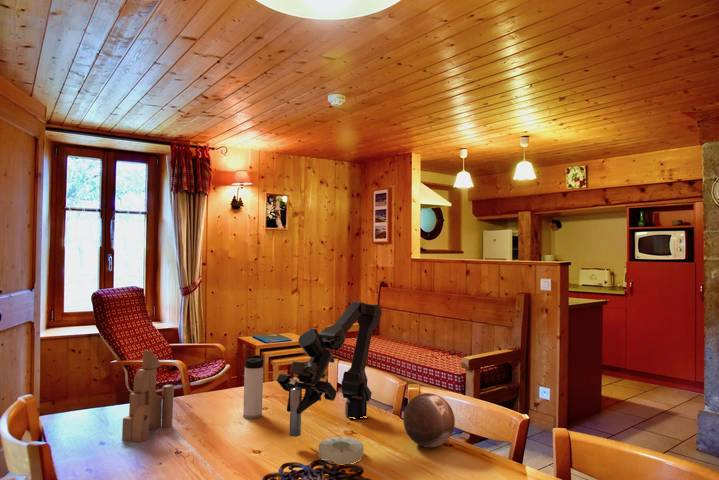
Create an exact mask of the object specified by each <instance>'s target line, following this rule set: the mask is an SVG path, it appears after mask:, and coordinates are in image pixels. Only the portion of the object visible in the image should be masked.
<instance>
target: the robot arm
mask: <svg viewBox="0 0 719 480" xmlns="http://www.w3.org/2000/svg"><path fill="white" fill-rule="evenodd" d="M382 311H383V310H382V309H381V307H380V305H378V304H373V303H365V302H362V301H351V302H350V303H349V304H348V307H347V308H346V310H345V311H344V312H343V313H342V314H341V315H340V316H339V318H338V319H337V320H336V321H335V323H334V324H331V325H329V326H327V327H325V328H324V329H322V330H321V331H320V332H318V329H317V328H313V327H311V328H309V330H308V331H305V332H303V333H302V334H301V335H300V336H299V337H298V345H299V346H300V347H301V349H302V350H303V352H304V353H305V355H306V356H307V357H309V358H310V359H309V360H308V362H301V361H300V362H299V361H292V363H291V367H290V370H289V373H291V374H292V373H293V374H295V377H296V378H297V379H298V380H297V379H295V378H294V377H293V375H291V374H287V373H280V374H279V375H278V376H277V378H276V382H277V383H278V384H279V385H280V387H281V388H282V389H283V390H284V391H286V392H288V399H287V406H286V411H287V412H288V413H290V397H291V388H294V387H299V388H302V390H305V391H304V395H303V397H302V401H301V403H300V405H299V407H298V410H297V412H296V413H297V414H298V415H299V414H300V413H301V414H302V413H303V412H305V411H306V410H307V409H308V408H309V407H311V406H312V405H314V404H316V403H317V402H319V401H320V402H321V401H322V396H324V399H325V400H328V401H332V402H334V401H335V399H336V397H337V391H336V388H334V386H333V385H332V383H331V382H329V381H324V380H322V379H325V378H326V374H325V371H326V370H327V367H328V366H329V364H330V363H333V364H334V363H335V358H334V353H331V352H330V351H335V352H338V351H339V350H340V349H342V347H343V345H344V343H345V341H346V334H347V333H348V331H349V330H350V329H351V328H352V327H353V325H354V324H355V323H356V321H357V324H358V331H357V336H356V342H355V347H354V351H353V356H352V359H351V360H352V361H351V365H350V368H349V369H348V370H347V371H346V370H345V371H344V372H343V375H342V379H341V385H340V386H341V388H340V389H341V393H342V398H344V399H346V402H345V409H344V410H345V412H344V415H345V414H346V415H347V416H348V417H355V418H360V417H363V416H366V415H367V413H368V412H367V411H368V410H367V408H368V407H367V405H368V402H370V400H371V398H372V395H373V393H372V391H371V390H370V388H369V386H368V380H369V379H368V377H367V374H366V367H367V366H366V365H367V361H368V355H369V350H370V346H371V340H372V335H373V331H374V329H376V327H377V326H378V325H379V323H380V319H381V317H382V314H383V313H382ZM346 415H345V416H346ZM347 416H346V417H347ZM348 417H347V418H348ZM363 418H364V417H363ZM350 419H353V418H350ZM350 419H349V420H350Z"/></svg>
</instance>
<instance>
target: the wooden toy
mask: <svg viewBox="0 0 719 480" xmlns="http://www.w3.org/2000/svg"><path fill="white" fill-rule="evenodd" d="M141 365H142V366H141V368H140V369H138V370H137V371H136V373H135V374H134V377H133V392H131V393H130V394H129V406H128V407H129V410H128V411H129V413H128V415H127V416H125V417H122V430H121V431H122V435H121V440H122V441H126V442H136V443H142V442H144V441H146V440H147V439H149V433H150V432H149V431H150V430H155V429H158V428H159V427H161V428H166V429H168V428H171V427H173V421H174V420H173V419H174V418H173V417H174V416H173V415H174V414H173V413H174V394H175V393H174V392H175V391H174V387H175V386H174V385H173V384H165V385H163V386H162V396H160V395H158V394H157V390H156V389H157V388H156V387H157V368H159V367H161V366H162V363H161V362H160V361H159V359H158V357H156V355H155V354H154V353H153V352H152V350H151V349H143V350H142V364H141Z"/></svg>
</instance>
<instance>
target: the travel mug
mask: <svg viewBox="0 0 719 480" xmlns="http://www.w3.org/2000/svg"><path fill="white" fill-rule="evenodd" d="M244 359H245V360H244V377H243V378H244V384H243V412H242V413H243V414H242V417H243V418H245V419H247V420H255V419H259V418H261V417H262V416H263V393H264V357H263V356H260V355H259V354H254V355H251V356H247V357H245V358H244Z"/></svg>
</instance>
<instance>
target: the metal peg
mask: <svg viewBox="0 0 719 480" xmlns="http://www.w3.org/2000/svg"><path fill="white" fill-rule="evenodd" d="M302 395H303V389H302V388H299V387H294V388H291V397H290V412H289V433H288V434H289V437H295V438H297V437H299V436H301V435H302V413H300V414H299V415H298V414H297V413H296V412H297V410H298V407H299V405H300V403H301V401H302V399H303V397H302Z"/></svg>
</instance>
